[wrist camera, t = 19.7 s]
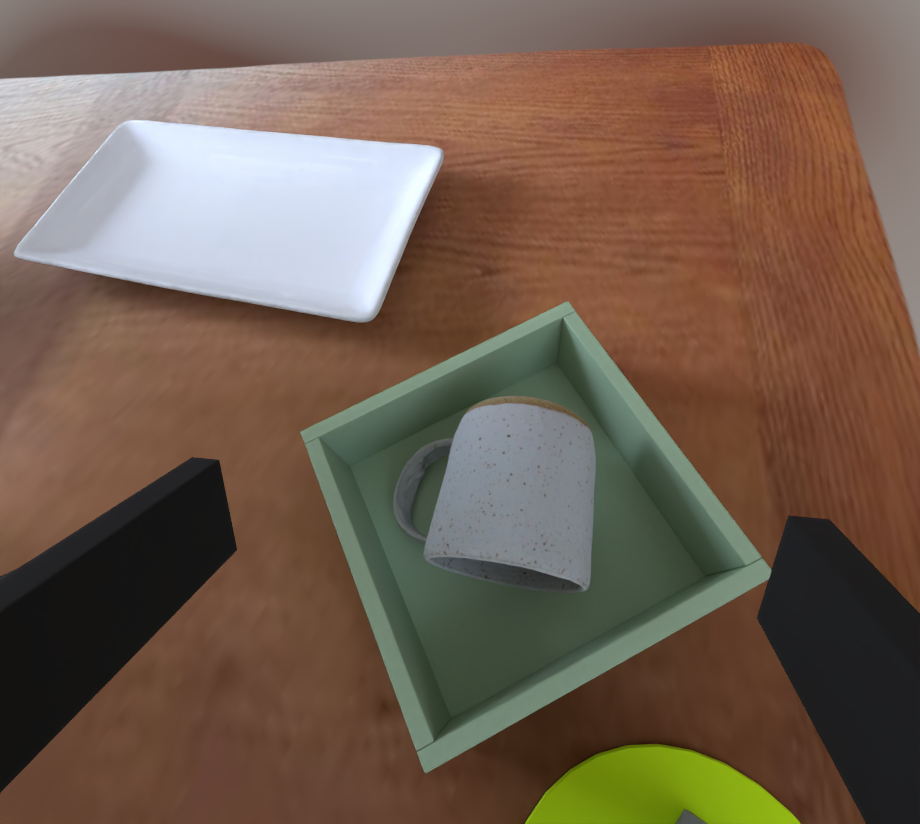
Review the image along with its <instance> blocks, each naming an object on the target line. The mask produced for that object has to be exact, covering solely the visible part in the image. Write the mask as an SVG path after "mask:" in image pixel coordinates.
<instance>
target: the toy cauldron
mask: <svg viewBox="0 0 920 824" xmlns="http://www.w3.org/2000/svg"><path fill="white" fill-rule="evenodd" d="M525 824H801V823H800V822H799V821H798V820H797V818H796V817H795V816H794V815H793V814H792V813H791V812H790V811H789V810H788V809H787V808H786V807H784V806H783V805H782V804H781V803H780V802H779V801H778V800H776V799H775V798H774V797H773V796H772V795H771V794H770V793H768V792H767V791H766V790H765V789H764V788H763V787H762V786H760V785H759V784H758V783H756V782H755V781H753V780H751V779H750V778H748V777H747V776H745V775H743V774H742V773H740V772H739V771H737V770H735V769H734V768H732V767H731V766H729V765H727V764H726V763H723V762H721V761H718V760H716V759H713V758H711V757H708V756H706V755H703V754H701V753H698V752H696V751H693V750H690V749H684V748H679V747H673V746H668V745H662V744H643V745H626V746H622V747H619V748H615V749H612V750H608V751H605V752H602V753H598V754H596V755H594V756H592V757H590V758H589V759H587V760H585V761H584V762H582V763H580V764H578V765H577V766H575V767H573V768H572V769H570V770H569V771H568V772H566V773H565V774H564V775H563V776H562V777H561V778H560V779H559V780H558V781H557V782H556V783H555V784H554V785H553V786H552V787H551V788H550V789H549V790H548V791H546V793H545V794H544V795H543V797H542V798H541V800H540V801H539V803H538V804H537V806H536V807H535V809H534V810H533V812H532V813H531V815H530V816H529V818H528V819H527V821H526V822H525Z"/></svg>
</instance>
